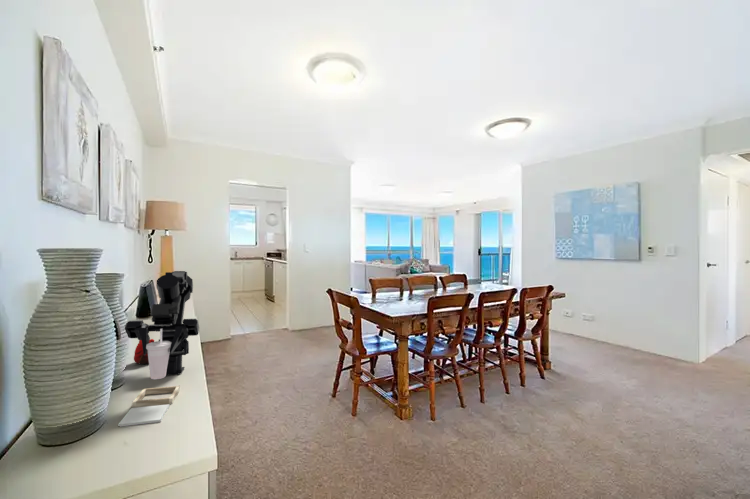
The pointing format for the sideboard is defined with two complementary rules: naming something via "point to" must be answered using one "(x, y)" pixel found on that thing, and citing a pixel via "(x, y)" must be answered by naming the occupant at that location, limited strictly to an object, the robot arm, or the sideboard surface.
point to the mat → (144, 415)
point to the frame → (152, 402)
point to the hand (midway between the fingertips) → (157, 353)
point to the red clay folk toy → (141, 354)
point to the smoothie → (158, 357)
